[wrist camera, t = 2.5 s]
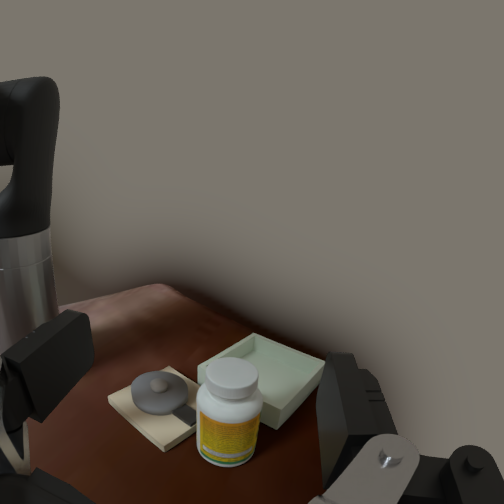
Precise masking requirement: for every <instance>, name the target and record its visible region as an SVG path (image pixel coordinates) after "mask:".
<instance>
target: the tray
mask: <svg viewBox="0 0 504 504" xmlns="http://www.w3.org/2000/svg"><path fill="white" fill-rule="evenodd" d="M224 357H235V358H241V359H244V360H246V361H249V362H250V363H252V364H253V365H254V366H255V367H256V368H257V370H258V374H259V378H258V388H259V390H260V391H261V394H262V397H263V407H262V413H261V418H260V422H262V423H264V424H266V425H268V426H270V427H272V428H274V429H276V430H277V429H278V428H279V427H280V426H281V425H282V424H283V423H284V422H285V421H286V420H287V419H288V418H289V417H290V416H291V415H292V414H293V412H294V411H295V410H296V409H297V408H298V407H299V406H300V405H301V404H302V403H303V402H304V400H305V399H306V398H307V397H308V396H309V395H310V394H311V393H312V391H313V390H314V389H315V388H316V387H317V386H318V384H319V383H320V380H321V377H322V373H323V369H324V365H325V361H323V360H320V359H318V358H315V357H313V356H310V355H307V354H305V353H302V352H300V351H297V350H294V349H292V348H290V347H287V346H285V345H282V344H280V343H277V342H275V341H272V340H270V339H267V338H265V337H263V336H260V335H258V334H256V333H253V334H251V335H249V336H248V337H246V338H244V339H243V340H241V341H239V342H238V343H236V344H234V345H233V346H231V347H229V348H228V349H226V350H224V351H223V352H221V353H219V354H218V355H216V356H214V357H212V358H211V359H209V360H207V361H205V362H204V363H202V364H200V365H199V366H198V385H199V386H201V385H202V384H203V383H204V382H205V374H206V368H207V366H208V365H209V363H211V362H212V361H214V360H216V359H219V358H224Z"/></svg>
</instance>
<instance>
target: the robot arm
mask: <svg viewBox="0 0 504 504" xmlns="http://www.w3.org/2000/svg"><path fill="white" fill-rule="evenodd" d="M59 110H60V99H59V92H58V88H57V85H56V83H55V82H54V81H53V80H52V79H51V78H49V77H31V78H24V79H17V80H11V81H5V82H0V166H5V165H14V166H13V173H12V177H11V180H10V183H9V184H8V185H7V187H6V188H5V189H4V190H3V191H2V192H1V193H0V504H96V503H94V502H93V501H91V500H90V499H89V498H87V497H86V496H84V495H83V494H82V493H80V492H79V491H78V490H76V489H75V488H74V487H73V486H71V485H70V484H68V483H66V482H64V481H62V480H60V479H58V478H56V477H54V476H52V475H50V474H48V473H46V472H44V471H42V470H41V469H39V468H37V467H36V469H35V470H34V471H33V473H32V472H31V468H30V458H29V441H28V426H27V423H26V421H25V420H26V419H27V418H28V417H30V418H32V419H34V420H36V421H38V422H40V423H42V422H43V421H44V420H45V419H46V418H47V416H48V415H49V414H50V413H51V412H52V411H53V410H54V408H55V407H56V406H57V405H58V404H59V403H60V402H61V400H62V399H63V398H64V397H65V396H66V395H67V394H68V393H69V391H70V390H71V389H72V388H73V387H74V386H75V385H76V384H77V382H78V381H79V380H80V379H81V378H82V377H83V376H84V375H85V374H86V372H87V371H88V370H89V369H90V368H91V366H92V364H93V361H94V347H93V341H92V334H91V328H90V321H89V317H88V315H87V314H85V313H81V312H77V311H73V310H69V309H67V310H65V311H63V312H62V313H61V314H59V309H58V303H57V295H56V288H55V280H54V270H53V261H52V249H51V233H50V206H51V196H52V173H53V161H54V151H55V144H56V137H57V129H58V121H59ZM316 413H317V422H318V433H319V443H320V454H321V466H322V479H323V489H328V490H327V491H326V492H325V493H324V494H323V495H322V496H320V495H318V496H316V497H315V498H313V499H312V500H311V501H310V502H309V503H308V504H504V480H503V478H502V475H501V473H500V471H499V469H498V467H497V465H496V463H495V461H494V459H493V457H492V456H491V454H489V453H488V452H487V451H486V450H484V449H483V448H481V447H478V446H473V445H465V446H462V447H459V448H458V449H456V450H455V451H454V452H453V454H452V455H451V456H450V458H449V459H446V458H437V457H429V456H424V455H420V454H419V452H418V450H417V448H416V446H415V445H414V444H413V443H412V442H411V441H409V440H408V439H406V438H404V437H402V436H399V435H398V433H397V430H396V428H395V425H394V422H393V420H392V417H391V414H390V411H389V409H388V406H387V404H386V402H385V398H384V396H383V393H381V388H380V386H379V383H378V380H377V379H376V378H375V377H374V376H373V375H372V374H371V373H370V372H369V371H368V370H367V369H358V367H357V364H356V361H355V358H354V355H353V354H352V353H341V352H329V353H328V354H327V357H326V361H325V365H324V369H323V373H322V377H321V380H320V384H319V388H318V392H317V399H316Z"/></svg>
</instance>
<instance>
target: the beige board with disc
mask: <svg viewBox="0 0 504 504" xmlns="http://www.w3.org/2000/svg"><path fill="white" fill-rule="evenodd" d="M199 388H200V386H199V385H198V384H196V383H195V382H193V381H191V380H190V379H188V378H187V377H185V376H184V375H182V374H180V373H179V372H177V371H176V370H174V369H173V368H171V367H170V366H168V367H166V368H164V369H162V370H160V371H153V372H147V373H144V374H142V375H140V376H138V377H137V378H136V379H135V380H134V381H133V383H132V385H130V386H128V387H126V388H124V389H122V390H120V391H118V392H116V393H113V394H111V395H109V396H108V400H109V403H110V404H111V405H112V406H113V407H114V408H115V409H116V410H117V411H118V412H119V413H120V414H121V415H122V416H123V417H124V418H125V419H126V420H127V421H129V422H130V423H131V424H132V425H133V426H134V427H135V428H136V429H137V430H139V431H140V432H141V433H142V434H143V435H144V436H145V437H147V438H148V439H149V440H150V441H151V442H152V443H154V444H155V445H156V446H157V447H158V448H160V449H161V450H162V451H163V452H166V451H168V450H169V449H171V448H172V447H174V446H175V445H177V444H178V443H180V442H181V441H183V440H184V439H186V438H187V437H189V436H190V435H191V434H193V433H194V432H196V431H197V419H196V397H197V392H198V390H199Z"/></svg>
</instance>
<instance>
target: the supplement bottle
mask: <svg viewBox="0 0 504 504" xmlns="http://www.w3.org/2000/svg"><path fill="white" fill-rule="evenodd" d="M258 378H259V374H258V370H257V368H256V367H255V366H254V365H253V364H252V363H250V362H249V361H246V360H244V359H241V358H235V357H224V358H219V359H216V360H214V361H212V362H211V363H209V365H208V366H207V368H206V374H205V382H204V383H203V384H202V385H201V386H200V388H199V390H198V392H197V397H196V419H197V448H198V451H199V453H200V454H201V456H202V457H203V458H204V459H206V460H207V461H209V462H210V463H212V464H215V465H217V466H222V467H234V466H238V465H241V464H243V463H245V462H246V461H248V460H249V459H250V458H251V456H252V455H253V453H254V450H255V446H256V440H257V435H258V429H259V423H260V418H261V413H262V407H263V397H262V394H261V391H260V390H259V388H258Z"/></svg>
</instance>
